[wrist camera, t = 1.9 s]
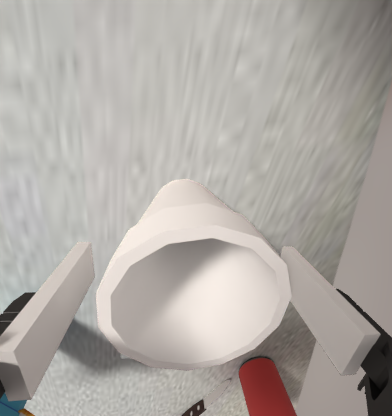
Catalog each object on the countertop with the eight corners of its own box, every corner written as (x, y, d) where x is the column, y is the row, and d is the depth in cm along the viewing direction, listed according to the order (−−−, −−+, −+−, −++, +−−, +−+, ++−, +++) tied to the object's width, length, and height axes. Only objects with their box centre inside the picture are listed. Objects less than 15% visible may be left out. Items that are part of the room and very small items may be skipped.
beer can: (279, 355, 35) (329, 463, 24) (264, 378, 37) (304, 485, 26) (245, 353, 33) (281, 467, 22) (232, 377, 36) (259, 490, 25)
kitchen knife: (174, 423, 40) (174, 437, 39) (170, 422, 40) (170, 436, 38) (231, 374, 36) (234, 388, 34) (227, 373, 35) (230, 386, 34)
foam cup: (217, 246, 24) (261, 367, 12) (138, 242, 23) (101, 374, 11) (233, 168, 20) (319, 232, 9) (141, 157, 19) (90, 215, 7)
